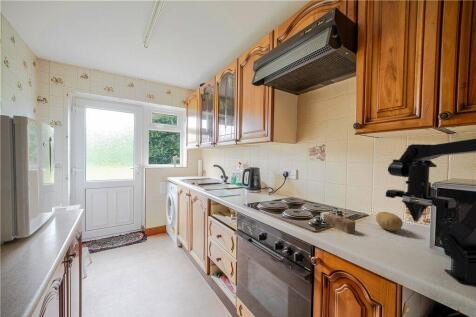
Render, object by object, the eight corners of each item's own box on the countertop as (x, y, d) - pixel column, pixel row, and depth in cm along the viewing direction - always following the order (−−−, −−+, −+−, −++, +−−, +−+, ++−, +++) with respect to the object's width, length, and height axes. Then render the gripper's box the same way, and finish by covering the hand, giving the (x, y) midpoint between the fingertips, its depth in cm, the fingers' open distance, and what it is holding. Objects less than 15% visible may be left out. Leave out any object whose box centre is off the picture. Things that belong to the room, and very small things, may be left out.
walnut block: (355, 221, 93) (327, 211, 108) (347, 222, 91) (320, 212, 106) (354, 232, 93) (327, 221, 108) (347, 233, 91) (320, 222, 106)
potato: (390, 225, 105) (391, 210, 104) (408, 235, 91) (409, 218, 90) (370, 223, 106) (370, 208, 106) (384, 233, 92) (385, 216, 92)
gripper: (465, 181, 68) (462, 227, 68) (402, 175, 85) (400, 212, 85) (448, 182, 63) (445, 231, 64) (385, 176, 81) (383, 214, 81)
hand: (416, 221), depth 74 cm, fingers closed
